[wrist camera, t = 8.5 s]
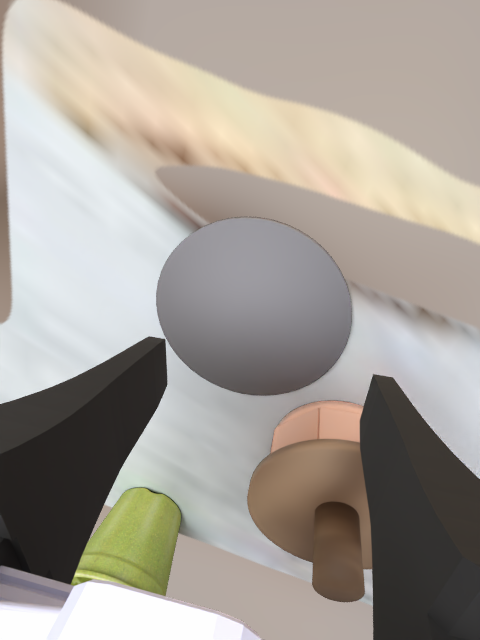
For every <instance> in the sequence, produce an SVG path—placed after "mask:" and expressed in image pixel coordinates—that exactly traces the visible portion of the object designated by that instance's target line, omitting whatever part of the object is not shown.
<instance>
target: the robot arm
mask: <svg viewBox="0 0 480 640" xmlns="http://www.w3.org/2000/svg"><path fill="white" fill-rule="evenodd" d="M166 387H167V365H166V343H165V339H161V338H155V337H147V338H145V339H144V340H142V341H140V342H138V343H136V344H135V345H133V346H131V347H130V348H128V349H126V350H124V351H123V352H121V353H119V354H117V355H116V356H114V357H112V358H110V359H109V360H107V361H105V362H103V363H101V364H99V365H98V366H96V367H94V368H92V369H90V370H88V371H86V372H84V373H82V374H80V375H78V376H76V377H74V378H72V379H69V380H67V381H65V382H63V383H60V384H58V385H55V386H53V387H50V388H48V389H45V390H43V391H40V392H37V393H34V394H31V395H28V396H25V397H22V398H19V399H16V400H13V401H10V402H6V403H3V404H0V640H263V639H260V637H259V635H258V634H257V632H255V631H254V630H253V629H251V628H250V627H249V626H248V625H246V624H245V623H244V622H243V621H242V620H239V619H237V618H235V617H232V616H230V615H227V614H225V613H223V612H220V611H217V610H213V609H210V608H206V607H202V606H199V605H195V604H192V603H188V602H185V601H180V600H177V599H173V598H170V597H166V596H163V595H159V594H156V593H152V592H148V591H145V590H141V589H138V588H134V587H130V586H127V585H123V584H119V583H116V582H111V581H104V580H96V579H92V580H89V581H87V582H84V583H81V584H78V585H76V586H73V585H71V583H72V580H73V578H74V575H75V572H76V570H77V567H78V565H79V562H80V560H81V557H82V555H83V552H84V550H85V547H86V545H87V543H88V540H89V538H90V535H91V533H92V531H93V528H94V526H95V524H96V521H97V519H98V517H99V515H100V512H101V510H102V508H103V506H104V503H105V501H106V499H107V497H108V495H109V492H110V490H111V488H112V486H113V484H114V482H115V480H116V478H117V476H118V474H119V471H120V469H121V468H122V466H123V464H124V462H125V460H126V459H127V457H128V455H129V454H130V452H131V450H132V449H133V447H134V446H135V444H136V442H137V441H138V439H139V437H140V436H141V434H142V432H143V431H144V429H145V428H146V426H147V424H148V423H149V421H150V419H151V418H152V416H153V414H154V413H155V411H156V409H157V407H158V405H159V403H160V401H161V398H162V396H163V394H164V391H165V389H166ZM360 452H361V459H362V466H363V473H364V480H365V487H366V494H367V501H368V508H369V515H370V525H371V545H372V574H373V628H374V630H373V640H480V479H479V478H478V477H477V476H476V475H474V474H473V473H472V472H471V471H470V470H469V469H468V468H467V467H466V466H465V465H464V464H463V463H462V462H461V461H460V460H459V459H458V458H457V457H456V456H455V455H454V454H453V453H452V452H451V451H450V449H449V448H448V447H447V446H446V445H445V444H444V443H443V442H442V440H441V439H440V438H439V437H438V436H437V435H436V434H435V432H434V431H433V430H432V429H431V428H430V427H429V425H428V424H427V423H426V422H425V420H424V419H423V418H422V417H421V415H420V414H419V413H418V411H417V410H416V409H415V407H414V406H413V405H412V403H411V402H410V401H409V399H408V398H407V397H406V395H405V394H404V392H403V391H402V390H401V388H400V387H399V385H398V384H397V383H396V381H395V380H394V379H393V378H392V377H386V376H380V375H374V374H373V377H372V381H371V384H370V387H369V391H368V394H367V397H366V401H365V404H364V407H363V411H362V414H361V418H360Z"/></svg>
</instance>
